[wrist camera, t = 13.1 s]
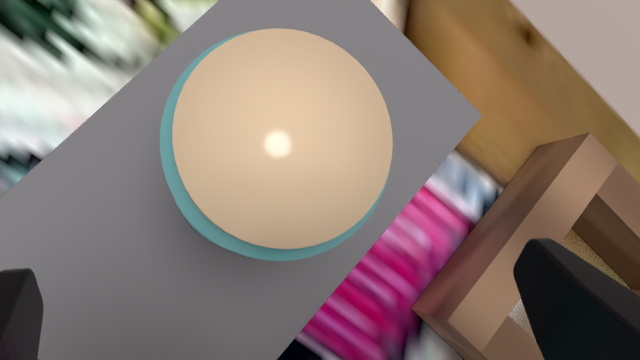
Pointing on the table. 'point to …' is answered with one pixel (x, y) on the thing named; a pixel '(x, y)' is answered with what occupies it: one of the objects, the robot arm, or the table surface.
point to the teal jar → (276, 144)
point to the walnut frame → (527, 223)
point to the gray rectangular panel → (171, 228)
